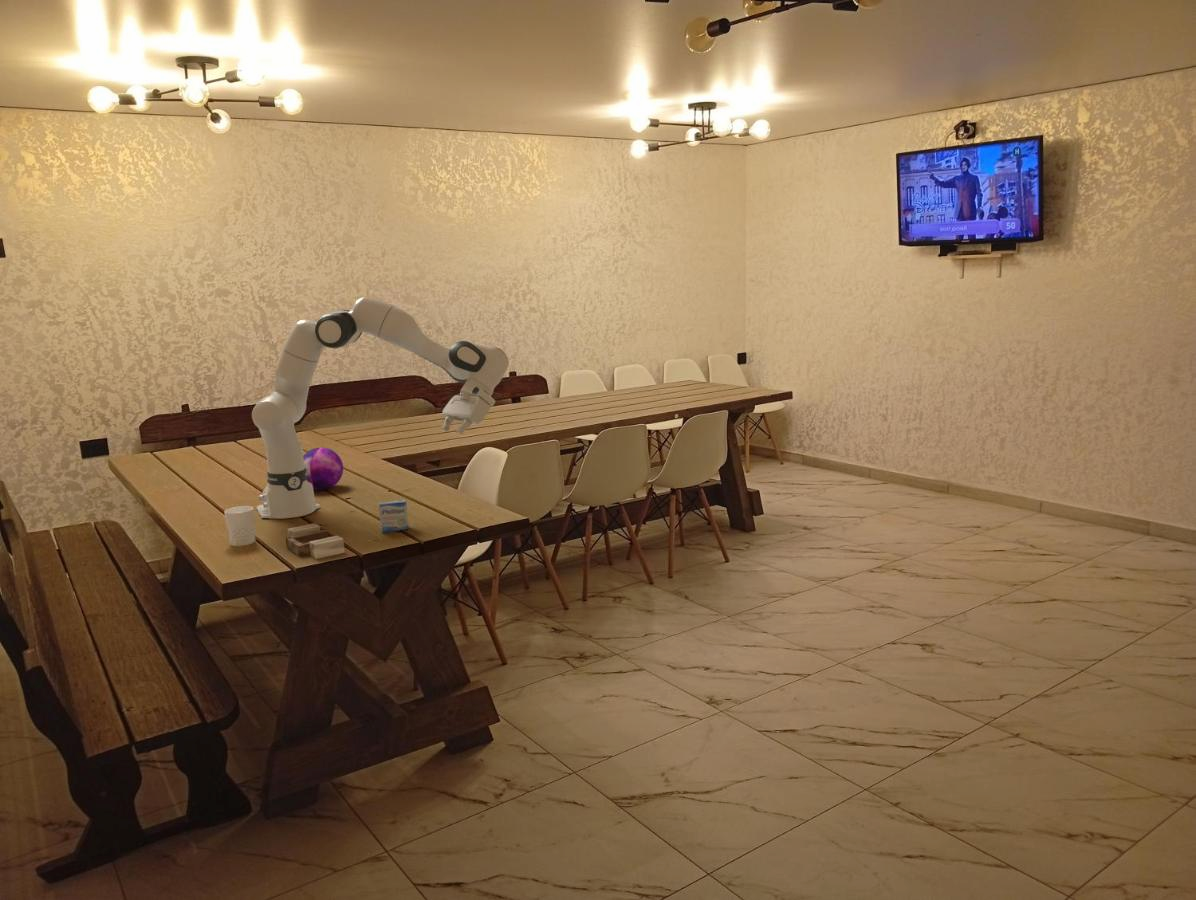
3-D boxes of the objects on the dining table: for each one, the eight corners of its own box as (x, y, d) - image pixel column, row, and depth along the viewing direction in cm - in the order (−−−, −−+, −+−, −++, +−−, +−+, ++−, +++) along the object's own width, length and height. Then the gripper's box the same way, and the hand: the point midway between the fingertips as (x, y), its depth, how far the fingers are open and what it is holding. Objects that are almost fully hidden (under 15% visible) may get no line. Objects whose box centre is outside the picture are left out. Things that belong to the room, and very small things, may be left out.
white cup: (261, 538, 264) (257, 505, 262) (252, 546, 257) (248, 512, 255) (234, 539, 264) (230, 506, 262) (224, 547, 256) (219, 513, 254)
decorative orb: (351, 483, 327) (347, 443, 324) (334, 494, 313) (330, 452, 310) (312, 484, 330) (308, 444, 326) (293, 494, 315) (289, 452, 312)
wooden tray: (280, 544, 258) (278, 530, 257) (319, 535, 264) (317, 522, 264) (307, 561, 241) (305, 547, 240) (348, 551, 248) (346, 537, 247)
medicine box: (381, 533, 265) (378, 504, 263) (380, 529, 269) (378, 501, 267) (408, 530, 267) (406, 501, 265) (407, 526, 271) (405, 498, 269)
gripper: (451, 386, 285) (428, 423, 281) (483, 390, 268) (459, 428, 265) (466, 398, 288) (443, 434, 285) (498, 402, 272) (474, 440, 268)
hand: (451, 431), depth 275 cm, fingers open, 8 cm apart
